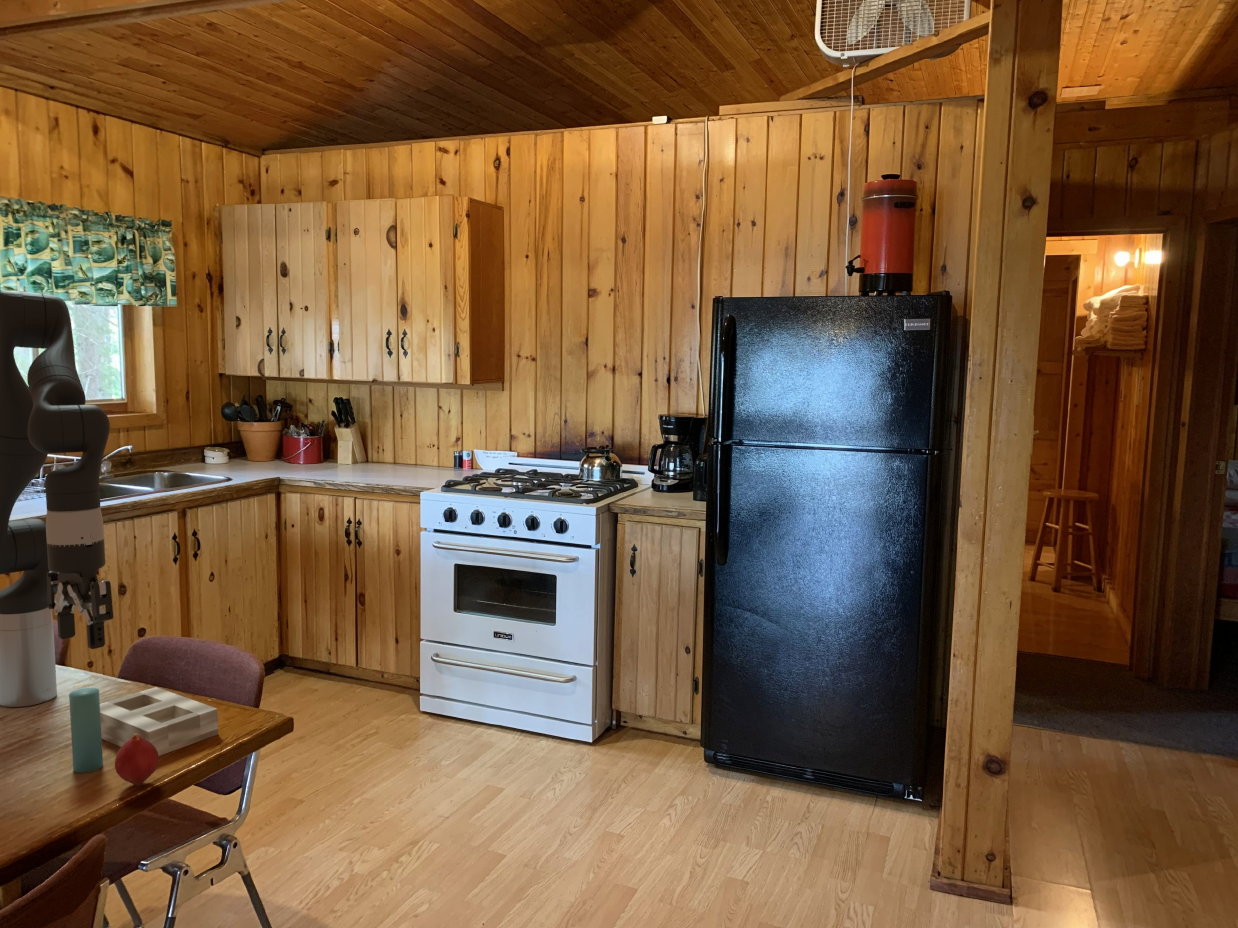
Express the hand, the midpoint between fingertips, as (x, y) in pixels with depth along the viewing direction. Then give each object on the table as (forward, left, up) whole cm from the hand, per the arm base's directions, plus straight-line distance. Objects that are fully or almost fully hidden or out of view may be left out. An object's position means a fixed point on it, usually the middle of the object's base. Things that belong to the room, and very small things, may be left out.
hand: (81, 642), depth 144 cm
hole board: (-4, +13, -20) cm, 24 cm away
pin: (0, 0, -20) cm, 20 cm away
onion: (+12, +1, -20) cm, 23 cm away
